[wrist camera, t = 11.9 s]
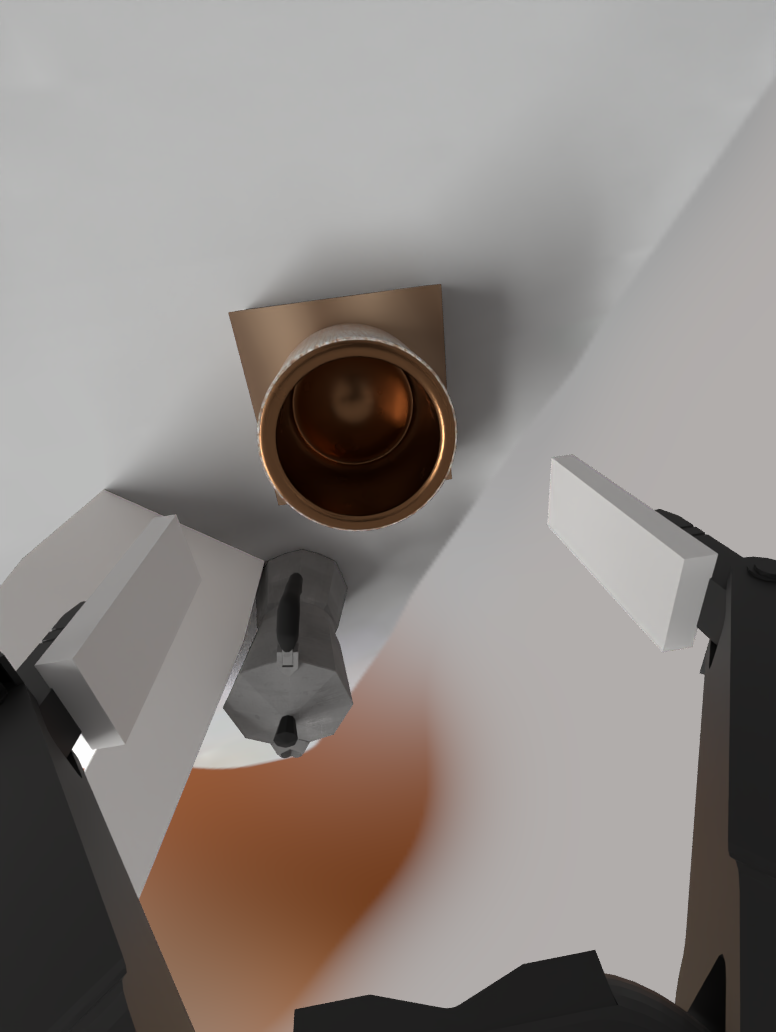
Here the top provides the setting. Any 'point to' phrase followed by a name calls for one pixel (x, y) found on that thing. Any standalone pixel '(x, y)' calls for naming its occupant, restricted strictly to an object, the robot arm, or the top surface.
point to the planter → (356, 429)
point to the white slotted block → (179, 684)
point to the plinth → (284, 327)
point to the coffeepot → (294, 657)
